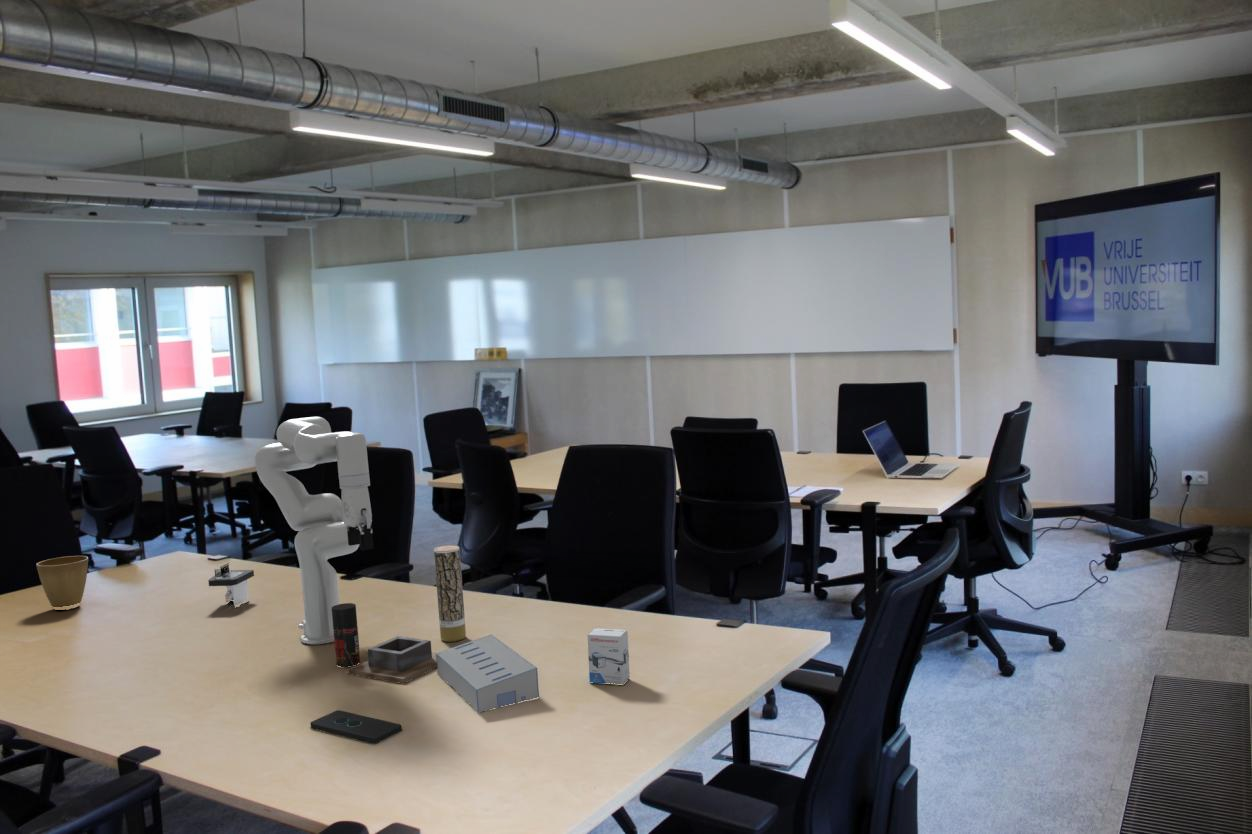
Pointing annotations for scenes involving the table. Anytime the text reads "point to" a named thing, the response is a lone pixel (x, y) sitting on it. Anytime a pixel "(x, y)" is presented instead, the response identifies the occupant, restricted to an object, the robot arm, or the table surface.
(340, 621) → the deodorant
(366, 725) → the smart home device
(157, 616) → the table surface
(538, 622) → the table surface
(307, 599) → the robot arm
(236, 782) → the table surface
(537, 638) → the table surface
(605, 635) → the ink box
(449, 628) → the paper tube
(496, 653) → the warehouse
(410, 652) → the holder
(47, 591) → the plant pot
